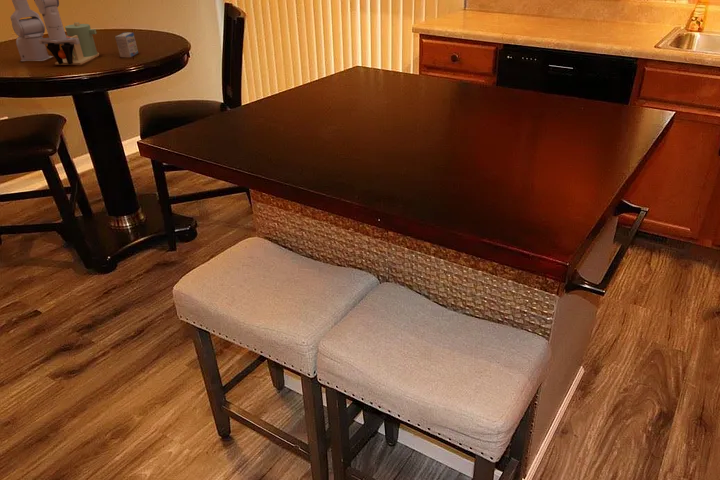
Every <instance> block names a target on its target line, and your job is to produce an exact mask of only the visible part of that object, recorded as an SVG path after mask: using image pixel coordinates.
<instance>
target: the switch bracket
mask: <svg viewBox="0 0 720 480" xmlns="http://www.w3.org/2000/svg"><path fill="white" fill-rule="evenodd" d="M66 37H67V34H66ZM70 38H78V35H75V36H72V37H70ZM62 45H64V44H60V46H62ZM73 51H74V55H75V57H74V56H73V63H72V64H68V62H67V59H63V63H62V64H59V63H58V62H57V61H56V62H54V65H55V66H57V65H58V66H59V65H60V66H61V65H66V66H68V65H69V66H70V65H71V66H72V65H74V66H75V65H77V66H78V65H79V66H81V65H84V64H85V63H87V62H89V61H92V60H94V59H95V58H96V57H95V56H87V57H84V56H83V53H82V49H81V46H80V44H78V45H75V44H74V48H73Z"/></svg>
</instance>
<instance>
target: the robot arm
mask: <svg viewBox="0 0 720 480" xmlns="http://www.w3.org/2000/svg"><path fill="white" fill-rule="evenodd" d="M33 1H34V4H35V5H36V7H37V9H38V12H39V13H40V14H41V16H40V14H39V13H38V12H37V11H35V10H33V9H31V8H30V5H29V2H28V0H11V2H12V5H13V7H14V11H13V13H12V14H11V15H10V21H11V27H12V30H13V32H14V33H15V35H16V36H18V37H17V38H16V39H15V45H16V48H17V51H18V55H19V57H20V62H44V61H47V60H49V59H51V58H55V60H56V62H58V63H59V64H62V63H63V59H62V58H60V57H59V56H58V51H59V50H63V51H64V53H65V56H66V59H67V62H68V64H72V63H73V48H74V44H75V45H78V44H80V42H79V39H78V38H67V37H66V35H67V33H66V30H65V27H64V25H63V22H62V18H61V14H60V11H59V6H60V0H33ZM41 17H42V19H43V20H42V19H41ZM45 32H47V35H48V37H44V36H45ZM61 44H64V45H61ZM48 51H49V52H50V53H51V55H49V53H48Z"/></svg>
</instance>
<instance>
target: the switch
mask: <svg viewBox="0 0 720 480" xmlns="http://www.w3.org/2000/svg"><path fill="white" fill-rule="evenodd" d="M70 37H72V36H67V38H70ZM58 56H59V57H60V58H62V59H66V56H65V53H64V51H63V49H60V50H59V51H58Z"/></svg>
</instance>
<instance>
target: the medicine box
mask: <svg viewBox="0 0 720 480" xmlns="http://www.w3.org/2000/svg"><path fill="white" fill-rule="evenodd" d="M115 42H116V46H117V49H118V54H119V57H120V58H133V57H135V56H136V55H137V54H139V50H138V46H137V42H136V38H135V33H134V32H127V31H126V32H122V33H119V34H118V35H115Z"/></svg>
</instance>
